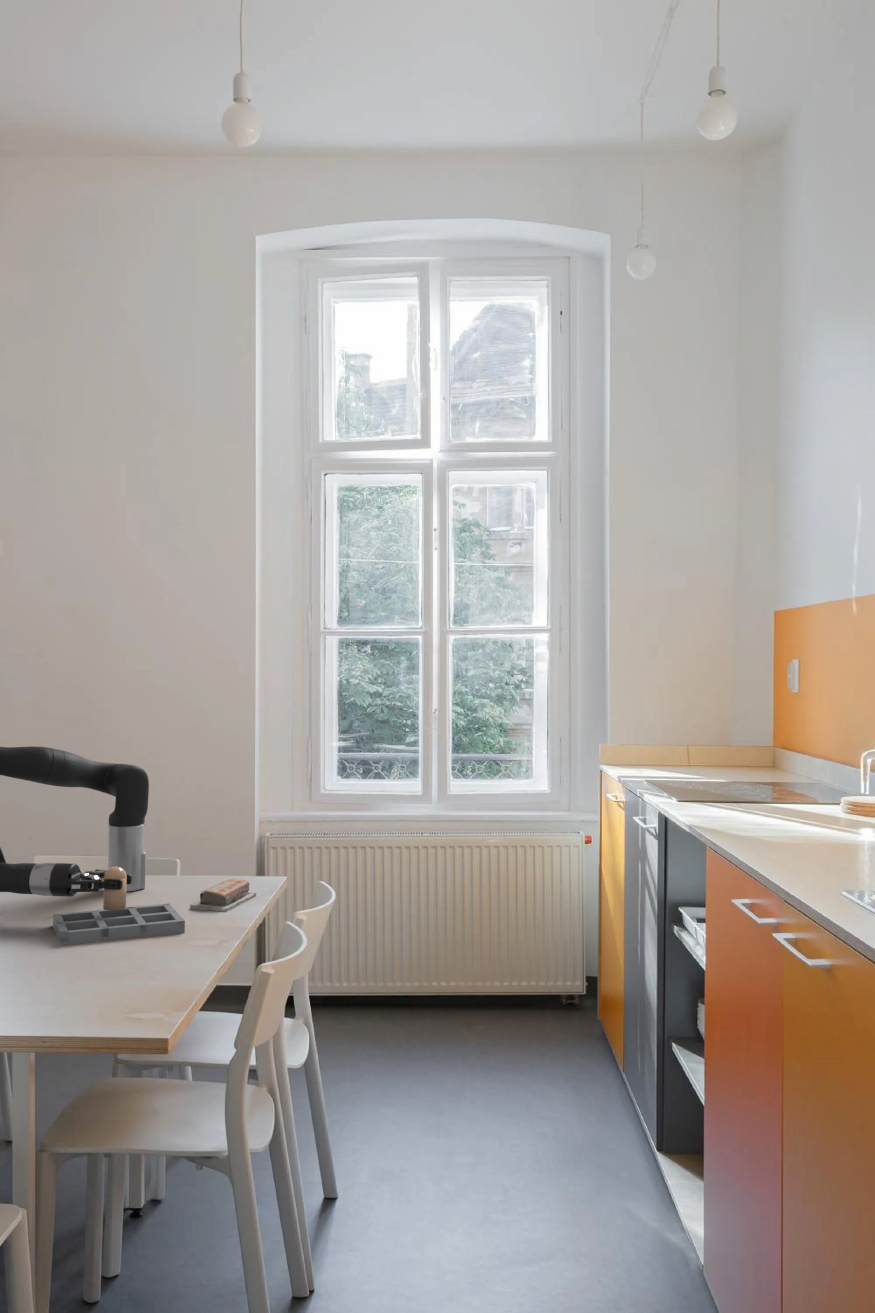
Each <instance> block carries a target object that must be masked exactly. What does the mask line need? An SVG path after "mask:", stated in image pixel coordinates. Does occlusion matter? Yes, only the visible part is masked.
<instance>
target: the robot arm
mask: <svg viewBox="0 0 875 1313" xmlns="http://www.w3.org/2000/svg"><path fill="white" fill-rule="evenodd" d="M0 776H2V777H3V776H4V777H8V778H13V779H16V780H17V779H18V780H22V781H28V782H33V783H37V784H42V785H48V786H53V787H63V788H83V789H84V788H86V789H90V790H93V791H96V792H97V791H98V792H101V793H104V794H107V795H109V796H112V797H115V805H114V809H113V811H112V812H111V813H110V814H109V816H108V842H107V844H108V845H107V846H108V848H107V852H108V853H107V870H108V869H109V868H111V867H115V866H118V867H121V868H123V869H124V870H125V872H126V875H127V886H126V892H134V891H138V890H146V852H145V819H146V816H147V813H148V810H149V808H148V807H149V795H150V794H149V793H150V791H149V790H150V781H149V776H148V773H147V772H146V770H145V769H143V768H142V767H140V766H139V765H134V764H128V763H112V762H111V763H110V762H102V761H96V760H95V761H94V760H91V759H88V758H85V757H83V756H80V755H78V754H76V753H75V754H74V752H73V753H72V752H70V751H65V750H62V749H58V748H57V749H56V748H52V747H46V746H33V745H31V746H10V747H7V746H6V747H5V746H0ZM107 870H104V869H95V870H94V871H93V870H85V872H82V871H81V869H80V866H79V865H78V864H77V863H66V862H65V863H61V862H42V863H35V862H33V863H32V862H31V863H30V862H23V863H21V862H20V863H19V862H18V863H8V862H6V859H5V856H4V853H3V850H2V848H1V847H0V893H13V894H19V895H36V896H43V897H63V898H64V897H65V898H68V897H69V898H73V897H74V896H75V895H76V894H77V893H97V892H99V891H103V892H104V890H105V889H113V890H120V889H122V884H123V881H122V880H121V879H106V881H105V879H104V875H105V873H106V871H107Z"/></svg>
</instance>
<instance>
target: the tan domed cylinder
mask: <svg viewBox="0 0 875 1313" xmlns="http://www.w3.org/2000/svg"><path fill="white" fill-rule="evenodd" d="M104 879H105V881H106V879H121V880H122V881H123V884H122V889H120V890H113V889H105V890H103V902H102V904H103V905H102V907H103V909H102V910H122V909H125V908H126V907H127V891H126V886H127V875H126V872H125V870H124V869H123V868H121V867H118V866H115V867H111V868H109V869H108V868H107V870H106V873H105V875H104Z"/></svg>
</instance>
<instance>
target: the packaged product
mask: <svg viewBox="0 0 875 1313" xmlns="http://www.w3.org/2000/svg"><path fill="white" fill-rule="evenodd" d="M249 891H250V882H249V881H247V880H246V879H234V878H233V879H227V880H224V881H222V882H219V883H218V884H215V885H214V886H211V887H208V888H206V889H204V890H202V891H201V892H200V893H199V894H200V895H199V899H197V900H196V901H194V902H192V903H190V904H189V908H190V910H197V911H198V910H199V911H209V910H211V911H210V912H213V911H214V912H222V911H227V912H228V910H229V911H230V910H232V909H233V907H234V908H236V907H238V906H240V905H241V903H242V904H244V903H246V902H248V901H249V900H251V899H252V898H255V897H256V896H257V892H249ZM235 906H236V907H235Z"/></svg>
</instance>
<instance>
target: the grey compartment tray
mask: <svg viewBox="0 0 875 1313" xmlns="http://www.w3.org/2000/svg"><path fill="white" fill-rule="evenodd" d="M185 923H186V920H185V919H184V918H183V917H182V916H181V915H180V914H179V913H178V911H177V910H176V909H175V908H174V907H173V906H172V905H171V904H170V903H161V904H151V905H149V904H148V905H140V906H139V905H137V906H128V907H127V906H126V908H125V909H122V910H104V909H96V910H85V911H83V910H82V911H74V912H62V913H53V914H52V927H53V930H54V933H55V935H56V938H57V941H58V944H59V945H61V946H69V945H78V944H79V943H80V944H87V943H88V942H89V943H97V942H96V941H99V942H106V941H115V940H118V941H119V940H126V939H134V938H135V939H136V938H143V937H144V938H145V937H154V936H155V937H156V936H162V935H163V936H165V935H173V934H182V933H183V934H184V933H185V931H186V930H185V928H186V925H185ZM94 941H95V942H94Z"/></svg>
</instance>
